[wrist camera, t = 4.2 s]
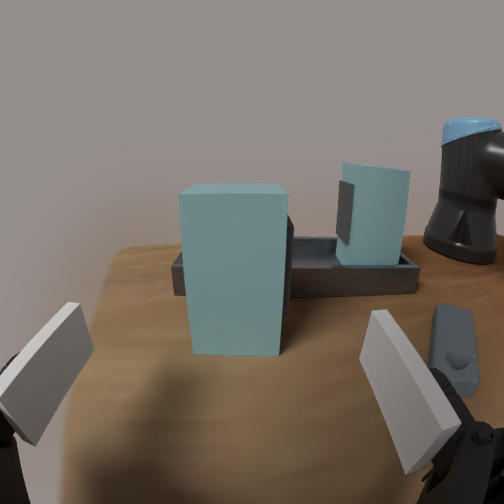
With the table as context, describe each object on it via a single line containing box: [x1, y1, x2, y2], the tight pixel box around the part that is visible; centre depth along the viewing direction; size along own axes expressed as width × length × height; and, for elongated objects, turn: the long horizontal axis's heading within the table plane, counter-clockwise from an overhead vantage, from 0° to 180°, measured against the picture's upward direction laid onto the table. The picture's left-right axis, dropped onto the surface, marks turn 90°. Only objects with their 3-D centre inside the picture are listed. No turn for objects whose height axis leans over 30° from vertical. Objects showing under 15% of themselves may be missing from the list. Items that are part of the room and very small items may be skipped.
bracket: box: [428, 303, 480, 398], centre depth 17 cm, size 4×10×2 cm, turn 146°
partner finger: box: [336, 163, 410, 265], centre depth 29 cm, size 6×5×11 cm
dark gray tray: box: [171, 237, 421, 297], centre depth 31 cm, size 25×10×3 cm, turn 89°
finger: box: [179, 183, 294, 356], centre depth 19 cm, size 6×5×11 cm
